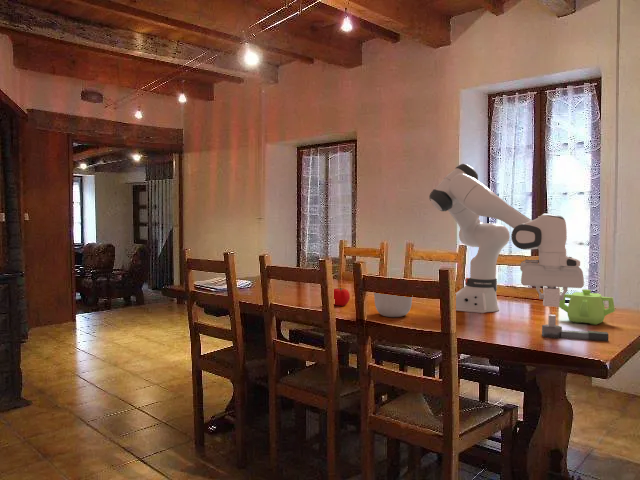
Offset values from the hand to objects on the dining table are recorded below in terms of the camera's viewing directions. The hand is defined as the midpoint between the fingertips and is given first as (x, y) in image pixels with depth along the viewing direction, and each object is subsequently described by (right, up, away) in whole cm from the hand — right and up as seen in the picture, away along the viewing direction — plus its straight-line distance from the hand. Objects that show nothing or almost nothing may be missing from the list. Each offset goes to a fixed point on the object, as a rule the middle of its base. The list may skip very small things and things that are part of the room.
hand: (551, 299), depth 186 cm
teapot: (+24, -12, +24) cm, 36 cm away
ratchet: (+7, -13, -2) cm, 15 cm away
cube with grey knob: (0, -2, 0) cm, 2 cm away
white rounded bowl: (-50, -12, +40) cm, 65 cm away
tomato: (-72, -10, +65) cm, 97 cm away
